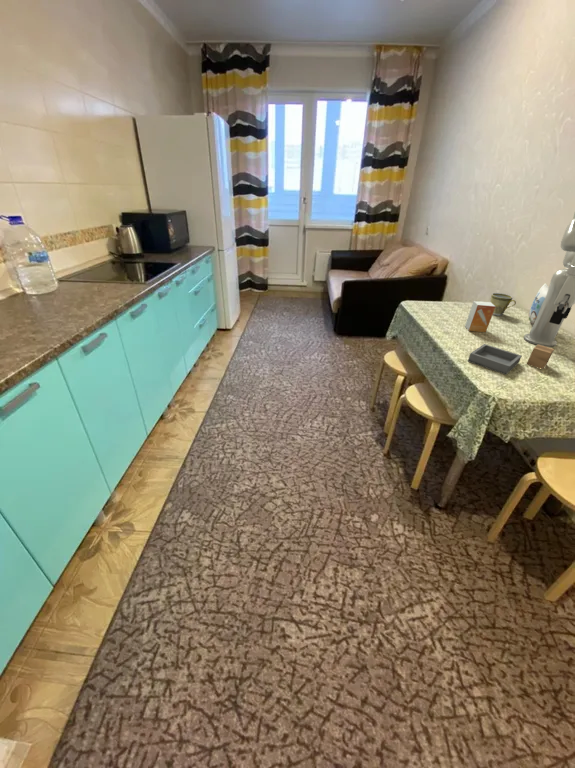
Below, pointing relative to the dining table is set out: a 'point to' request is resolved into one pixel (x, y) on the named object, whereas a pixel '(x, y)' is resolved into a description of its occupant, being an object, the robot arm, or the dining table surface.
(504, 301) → the ceramic cup
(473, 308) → the small box
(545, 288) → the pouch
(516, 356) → the tray
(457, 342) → the dining table surface
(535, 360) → the wooden block
